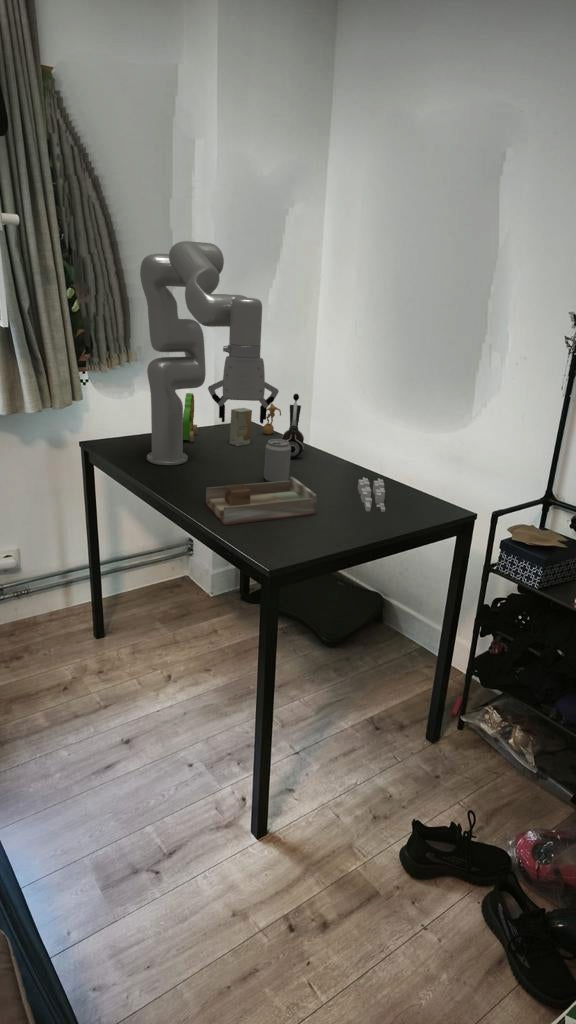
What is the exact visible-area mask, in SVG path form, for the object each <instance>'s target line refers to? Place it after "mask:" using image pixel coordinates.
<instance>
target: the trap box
mask: <svg viewBox="0 0 576 1024" xmlns="http://www.w3.org/2000/svg"><path fill="white" fill-rule="evenodd" d="M243 484H244V485H245V486H246V487H247V488H248V489H250V490H251V493H250V504H247V505H237V506H230V505H229V504H228V503H227V502H226V501H225V486H226V485H222V486H211V487H206V489H205V504H206V506H207V507H208V508H209V509H210V510H211V512H212V513H214V515H215V516H216V518H218V520H219V521H220V522H221V523H222V524H223V525H224V526H227V525H228V526H229V525H236V524H244V523H245V524H246V523H255V522H261V521H272V520H280V519H287V518H288V519H290V518H297V517H304V516H305V517H306V516H314V515H316V506H317V497H318V496H317V493H315V492H313V490H312V489H310V488H308V487H307V486H306V485H305V484H304V483H302V482H300V481H299V480H298V479H296V478H295V477H294V476H289V479H288V480H287V481H276V482H268V481H267V482H255V483H243Z"/></svg>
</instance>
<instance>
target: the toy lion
mask: <svg viewBox="0 0 576 1024" xmlns="http://www.w3.org/2000/svg"><path fill="white" fill-rule="evenodd" d="M194 418H195V395H194V393H193V392H192V393H191V392H186V393H185V398H184V407H183V441H189V442H190V443H193V442H194V441H195V436H197V434H198V424H194Z"/></svg>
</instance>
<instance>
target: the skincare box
mask: <svg viewBox="0 0 576 1024" xmlns="http://www.w3.org/2000/svg"><path fill="white" fill-rule="evenodd" d="M252 412H253V410H252V409H249V408H245V407H239V408H238V407H237V408H232V409H231V410H230V425H229V427H230V428H229V430H230V431H229V444H230V445H233V446H236V447H240V446H241V447H242V446H245V445H250V444H251V433H252V431H251V430H252V419H253V417H252V415H253V413H252Z"/></svg>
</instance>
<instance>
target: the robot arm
mask: <svg viewBox="0 0 576 1024" xmlns="http://www.w3.org/2000/svg"><path fill="white" fill-rule="evenodd" d="M224 260H225V258H224V255H223V252H222V249H220V248H219V247H218V246H217V245H216V244H214V243H212V242H203V241H202V242H200V241H189V240H185V241H179V242H176V243H175V244H173V246H171V248H170V250H169V253H153V254H148V255H146V256H145V257H144V258H143V259H142V261H141V264H140V270H139V271H140V272H139V276H140V277H139V278H140V282H141V286H142V287H141V288H142V291H143V292H144V293H143V294H144V297H145V300H146V304H147V305H146V306H147V315H148V317H147V318H148V328H149V329H148V330H149V340H150V341H149V342H150V345H151V347H152V349H153V350H154V351H156V352H159V353H182V352H183V353H184V356H163V357H158V358H155V359H152V360H151V361H150V362H149V363H148V366H147V371H146V372H147V378H148V379H147V380H148V385H149V390H150V391H149V392H150V405H151V407H150V408H151V409H150V410H151V411H150V412H151V413H150V414H151V416H150V417H151V418H150V419H151V422H150V423H151V452H149V453H147V455H146V460H147V461H148V462H149V463H151V464H154V465H159V466H177V465H181V464H182V465H183V464H185V463H186V462H187V461H188V460H189V459H188V458H189V456H188V455H187V454H186V453H185V452H184V446H183V444H184V440H183V413H184V406H183V401H182V399H181V397H180V396H179V395H178V394H177V392H176V390H185V389H186V390H188V389H197V388H199V387H202V386H203V384H204V383H205V380H206V375H207V374H206V358H205V357H206V353H205V337H204V331H203V329H202V327H201V325H202V326H204V327H210V328H211V327H212V328H215V327H217V328H219V327H222V328H223V327H227V328H229V342H228V344H227V345H223V347H222V352H224V353H227V354H228V355H227V356H226V357H225V361H224V368H223V373H222V375H223V376H222V377H223V378H222V379H221V380H219V381H217V382H215V383H213V384H211V385H209V386H208V387H207V390H208V392H209V394H210V396H211V398H212V400H214V402H216V404H217V405H218V418H219V419H221V423H225V422H226V421H225V420H226V419H225V418H226V415H225V414H226V404H225V403H226V402H227V401H228V400H229V401H251V402H253V401H255V402H257V401H258V402H259V403H260V404H261V405H260V407H259V408H260V410H259V413H260V414H259V423H260V424H261V425H262V424H263V425H264V420H265V421H267V418H266V417H267V411H268V410H267V409H268V408H269V407H270V405H271V403H272V404H273V402H275V399H276V398H277V396H278V394H279V389H278V388H276V387H274V386H273V385H271V384H270V383H268V382H266V381H265V378H266V377H265V375H266V374H265V362H264V359H263V358H262V357H261V349H262V348H261V347H262V346H261V345H262V344H261V341H262V320H263V303H262V301H261V300H260V299H258V298H255V297H247V296H246V295H243V294H229V293H228V294H226V293H214V292H215V290H216V289H217V288H218V286H219V283H220V274H221V273H222V272H223V269H224V264H225V261H224ZM168 287H178V288H180V287H181V288H185V291H184V298H185V304H186V308H187V310H188V312H189V313H190V314H191V315H192V317H193V318H194V319H192V318H191V319H190V318H179V315H178V314H179V313H178V303H177V299H176V298H175V296H174V294H173V293H172V291H170V289H169V288H168ZM200 324H201V325H200ZM219 388H222V395H221V397H219V395H218V394H217V393H216V390H218V389H219ZM265 389H266V390H268V391H269V392H271V393H270V395H269V396H268V397H267V398H266V399H265V392H266V391H265Z"/></svg>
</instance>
